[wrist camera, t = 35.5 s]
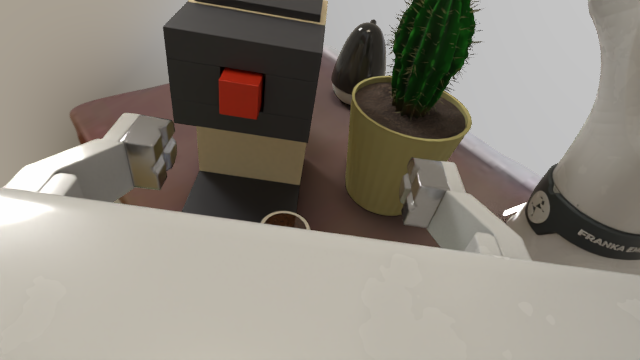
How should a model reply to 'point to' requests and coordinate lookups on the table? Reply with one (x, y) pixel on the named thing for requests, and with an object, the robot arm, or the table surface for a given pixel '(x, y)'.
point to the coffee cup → (286, 220)
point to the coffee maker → (276, 110)
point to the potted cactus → (409, 104)
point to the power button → (240, 93)
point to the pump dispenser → (359, 60)
